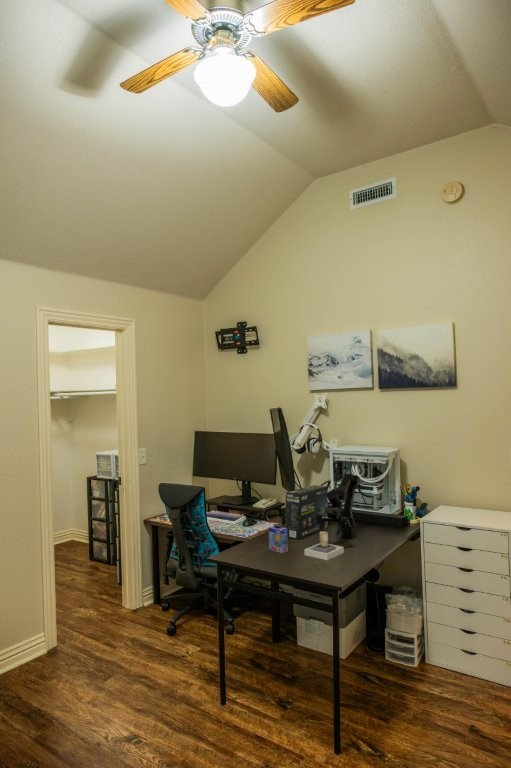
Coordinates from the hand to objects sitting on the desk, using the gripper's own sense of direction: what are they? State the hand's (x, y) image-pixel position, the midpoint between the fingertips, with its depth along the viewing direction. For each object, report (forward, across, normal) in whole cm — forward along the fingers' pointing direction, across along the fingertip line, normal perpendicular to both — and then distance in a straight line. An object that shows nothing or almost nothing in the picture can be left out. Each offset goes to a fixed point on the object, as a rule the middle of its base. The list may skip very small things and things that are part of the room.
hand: (328, 534), depth 258 cm
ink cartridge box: (+15, -24, -2) cm, 29 cm away
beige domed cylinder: (+10, 0, +1) cm, 10 cm away
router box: (-14, -26, +28) cm, 41 cm away
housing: (+11, 0, +2) cm, 11 cm away
